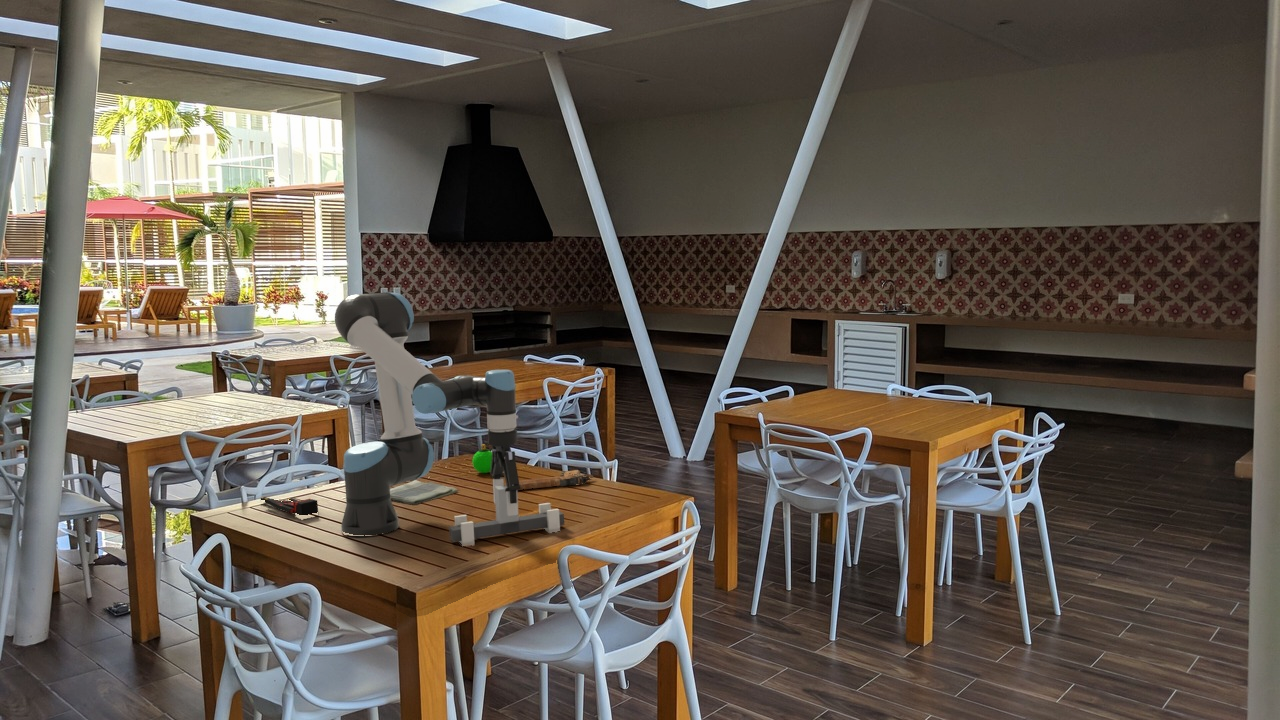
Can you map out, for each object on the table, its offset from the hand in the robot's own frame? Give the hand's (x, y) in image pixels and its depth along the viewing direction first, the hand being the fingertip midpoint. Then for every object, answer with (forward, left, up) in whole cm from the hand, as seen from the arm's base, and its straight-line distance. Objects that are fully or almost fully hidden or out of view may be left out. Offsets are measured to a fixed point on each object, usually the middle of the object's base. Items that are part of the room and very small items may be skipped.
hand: (505, 508), depth 245 cm
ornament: (+13, +77, -7) cm, 78 cm away
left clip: (-11, 0, -7) cm, 13 cm away
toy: (-51, +61, -8) cm, 80 cm away
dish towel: (-13, +58, -8) cm, 60 cm away
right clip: (+12, 0, -7) cm, 14 cm away
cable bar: (0, 0, -6) cm, 6 cm away
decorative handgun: (+28, +50, -8) cm, 58 cm away
